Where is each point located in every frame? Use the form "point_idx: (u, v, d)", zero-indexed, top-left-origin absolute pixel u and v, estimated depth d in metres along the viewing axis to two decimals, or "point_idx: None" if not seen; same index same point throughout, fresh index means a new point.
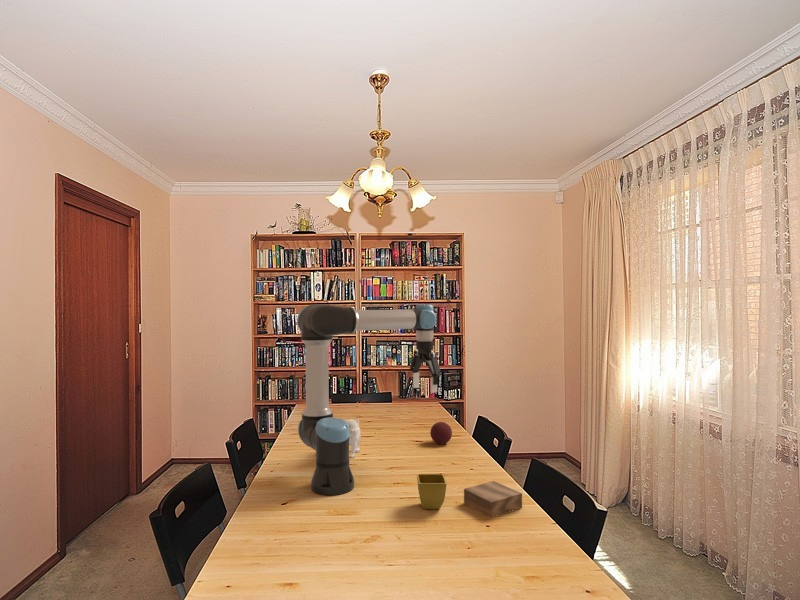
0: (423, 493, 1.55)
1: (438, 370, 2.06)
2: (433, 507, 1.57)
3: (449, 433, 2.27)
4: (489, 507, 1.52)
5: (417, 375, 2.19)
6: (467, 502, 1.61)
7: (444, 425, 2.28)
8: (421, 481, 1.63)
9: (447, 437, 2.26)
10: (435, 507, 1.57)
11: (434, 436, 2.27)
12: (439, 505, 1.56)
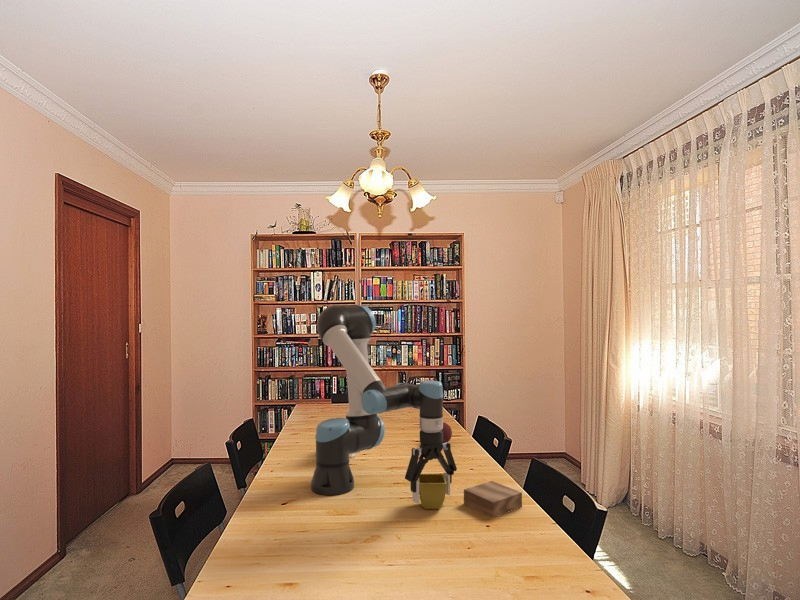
0: (423, 493, 1.55)
1: (409, 473, 1.55)
2: (433, 507, 1.57)
3: (449, 433, 2.27)
4: (491, 507, 1.52)
5: (446, 478, 1.62)
6: (468, 502, 1.60)
7: (444, 425, 2.28)
8: (421, 481, 1.63)
9: (447, 437, 2.26)
10: (435, 507, 1.57)
11: None
12: (439, 505, 1.56)
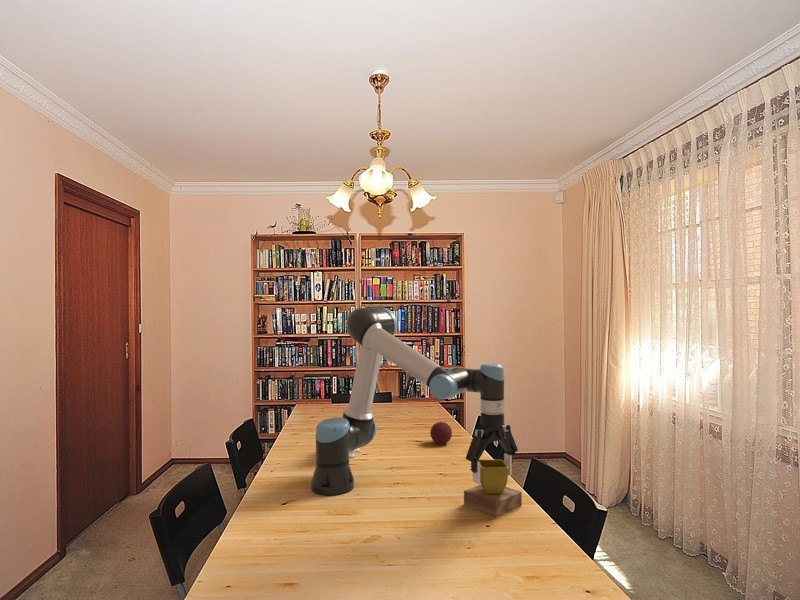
0: (486, 477, 1.56)
1: (470, 454, 1.55)
2: (495, 492, 1.57)
3: (449, 433, 2.27)
4: (493, 507, 1.52)
5: (508, 458, 1.63)
6: (468, 503, 1.59)
7: (444, 425, 2.28)
8: None
9: (447, 437, 2.26)
10: (497, 492, 1.57)
11: (434, 436, 2.27)
12: (502, 490, 1.57)
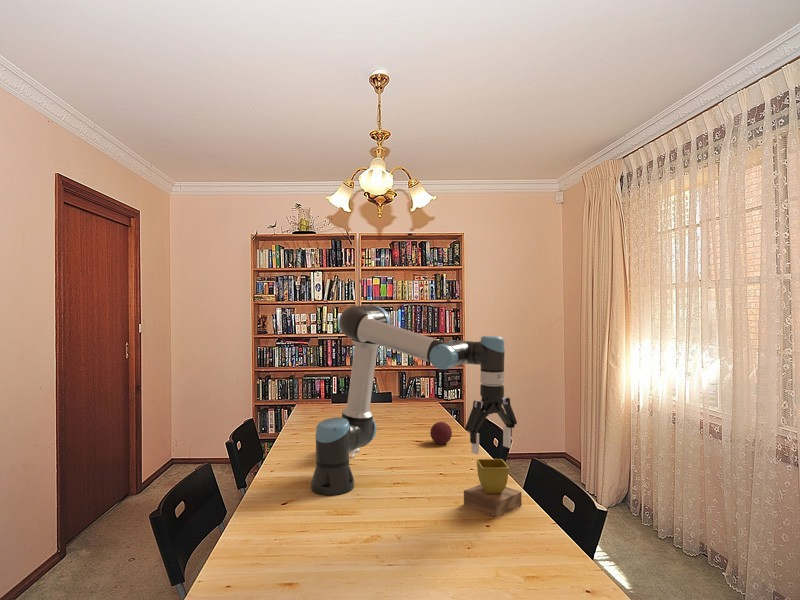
0: (486, 477, 1.56)
1: (469, 424, 1.55)
2: (495, 491, 1.58)
3: (449, 433, 2.27)
4: (493, 507, 1.52)
5: (507, 431, 1.63)
6: (468, 503, 1.59)
7: (444, 425, 2.28)
8: None
9: (447, 437, 2.26)
10: (497, 491, 1.58)
11: (434, 436, 2.27)
12: (501, 489, 1.57)
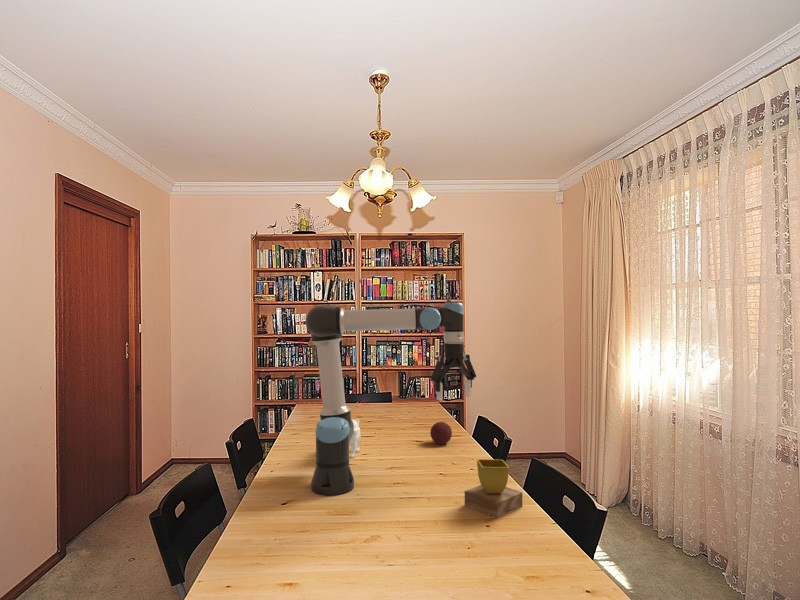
0: (486, 477, 1.56)
1: (434, 375, 1.85)
2: (495, 491, 1.57)
3: (449, 433, 2.27)
4: (494, 508, 1.51)
5: (467, 382, 1.93)
6: (469, 504, 1.59)
7: (444, 425, 2.28)
8: (481, 466, 1.64)
9: (447, 437, 2.26)
10: (497, 491, 1.57)
11: (434, 436, 2.27)
12: (502, 489, 1.57)
